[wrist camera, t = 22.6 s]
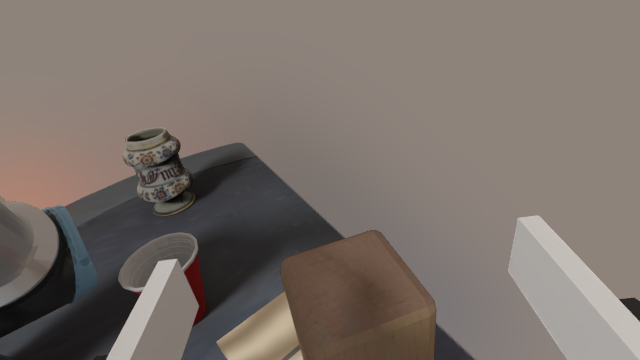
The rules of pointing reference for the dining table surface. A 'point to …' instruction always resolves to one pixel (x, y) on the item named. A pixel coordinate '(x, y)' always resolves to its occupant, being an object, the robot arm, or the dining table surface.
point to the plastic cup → (161, 249)
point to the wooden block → (358, 302)
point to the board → (264, 335)
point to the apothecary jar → (159, 170)
